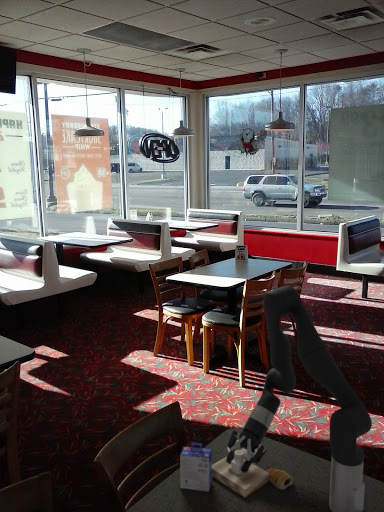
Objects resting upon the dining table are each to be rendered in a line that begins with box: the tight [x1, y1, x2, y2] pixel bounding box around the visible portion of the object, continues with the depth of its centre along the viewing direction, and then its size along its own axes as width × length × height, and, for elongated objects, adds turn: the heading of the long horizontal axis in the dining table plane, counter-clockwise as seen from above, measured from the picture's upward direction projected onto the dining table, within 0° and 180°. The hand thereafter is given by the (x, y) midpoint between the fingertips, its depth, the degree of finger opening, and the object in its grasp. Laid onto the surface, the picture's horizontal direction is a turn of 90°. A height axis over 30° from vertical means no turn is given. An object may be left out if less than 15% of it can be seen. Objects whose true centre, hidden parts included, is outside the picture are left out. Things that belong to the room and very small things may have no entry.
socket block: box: [212, 456, 270, 498], centre depth 167 cm, size 16×12×3 cm
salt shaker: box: [231, 450, 247, 477], centre depth 166 cm, size 4×4×10 cm
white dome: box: [226, 439, 258, 460], centre depth 183 cm, size 11×11×1 cm
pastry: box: [265, 467, 294, 490], centre depth 165 cm, size 9×7×4 cm
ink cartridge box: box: [179, 441, 213, 492], centre depth 162 cm, size 10×6×14 cm, turn 78°
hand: (235, 467), depth 165 cm, fingers open, 6 cm apart
